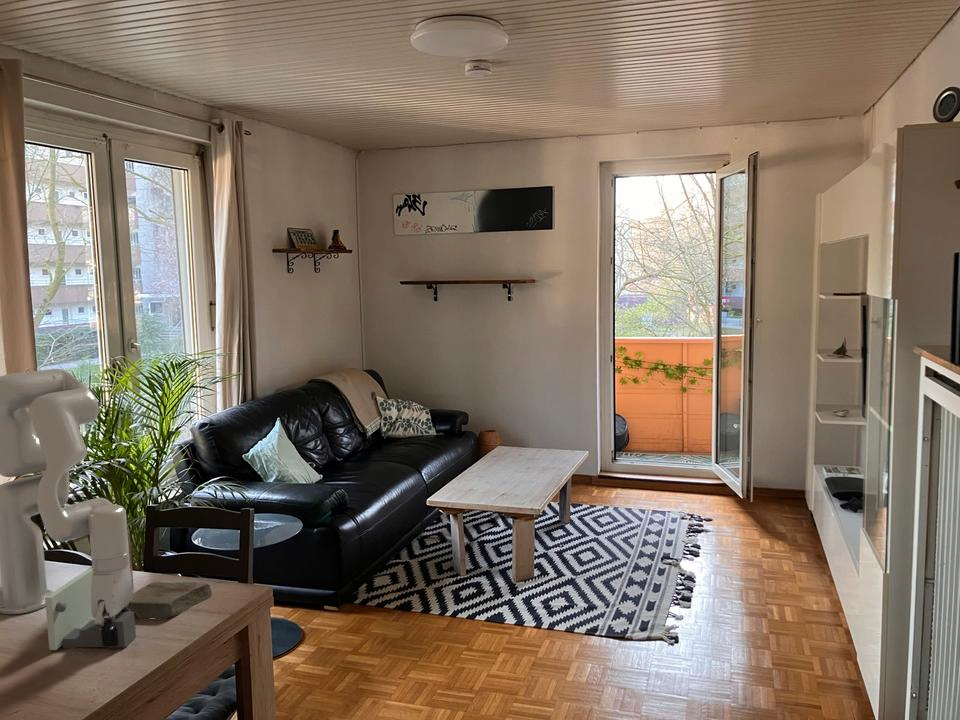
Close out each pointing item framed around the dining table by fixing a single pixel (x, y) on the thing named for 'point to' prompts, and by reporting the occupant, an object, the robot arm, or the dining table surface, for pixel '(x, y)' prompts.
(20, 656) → the dining table surface
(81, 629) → the grey stepped block
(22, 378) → the robot arm
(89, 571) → the door
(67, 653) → the dining table surface
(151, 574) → the dining table surface
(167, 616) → the marble piece
